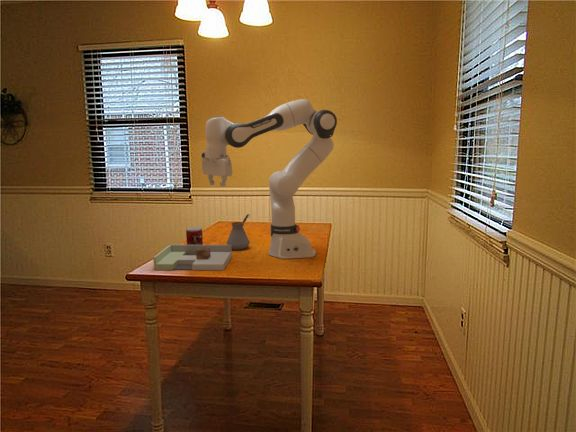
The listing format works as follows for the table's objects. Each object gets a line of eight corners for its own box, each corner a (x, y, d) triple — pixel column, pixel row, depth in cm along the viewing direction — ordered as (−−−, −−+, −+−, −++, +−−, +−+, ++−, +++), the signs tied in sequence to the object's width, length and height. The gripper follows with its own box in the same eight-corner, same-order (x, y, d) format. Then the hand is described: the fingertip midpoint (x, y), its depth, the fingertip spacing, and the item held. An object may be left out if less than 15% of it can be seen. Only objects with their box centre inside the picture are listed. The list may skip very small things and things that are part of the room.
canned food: (187, 252, 192) (186, 230, 191) (186, 248, 200) (185, 227, 198) (203, 251, 194) (202, 229, 193) (202, 247, 202) (201, 226, 200)
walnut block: (210, 256, 177) (210, 247, 177) (208, 259, 172) (207, 250, 172) (199, 256, 177) (198, 247, 177) (196, 259, 173) (196, 250, 172)
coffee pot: (244, 251, 194) (243, 221, 191) (222, 250, 197) (221, 220, 194) (259, 241, 214) (258, 214, 212) (239, 240, 217) (238, 213, 215)
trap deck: (231, 256, 186) (231, 244, 185) (223, 270, 165) (223, 257, 164) (170, 256, 187) (169, 244, 186) (154, 270, 166) (153, 257, 165)
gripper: (235, 154, 170) (236, 186, 173) (211, 153, 185) (212, 183, 188) (222, 154, 166) (223, 187, 169) (198, 154, 181) (200, 184, 184)
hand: (217, 185), depth 178 cm, fingers open, 8 cm apart
